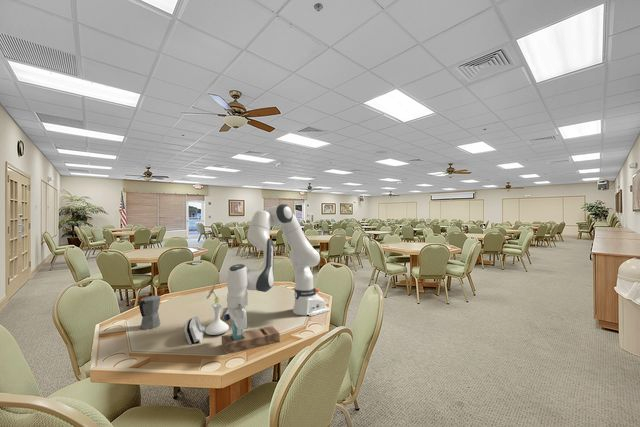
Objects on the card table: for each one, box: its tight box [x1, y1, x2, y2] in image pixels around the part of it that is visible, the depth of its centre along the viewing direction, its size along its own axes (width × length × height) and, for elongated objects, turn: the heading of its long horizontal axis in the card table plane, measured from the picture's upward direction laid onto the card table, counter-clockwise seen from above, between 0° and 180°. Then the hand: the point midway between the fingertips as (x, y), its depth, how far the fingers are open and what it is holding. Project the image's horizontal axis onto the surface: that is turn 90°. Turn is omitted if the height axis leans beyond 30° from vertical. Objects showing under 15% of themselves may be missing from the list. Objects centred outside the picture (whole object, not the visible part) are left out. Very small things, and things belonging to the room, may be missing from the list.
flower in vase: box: [205, 284, 230, 336], centre depth 139 cm, size 13×11×25 cm
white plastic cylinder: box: [223, 308, 231, 321], centre depth 169 cm, size 5×7×25 cm
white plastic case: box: [183, 316, 207, 345], centre depth 134 cm, size 17×5×10 cm, turn 14°
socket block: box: [221, 325, 281, 355], centre depth 127 cm, size 24×10×4 cm, turn 119°
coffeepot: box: [138, 292, 161, 330], centre depth 147 cm, size 15×9×18 cm, turn 179°
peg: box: [231, 319, 243, 341], centre depth 124 cm, size 4×4×10 cm
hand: (237, 332), depth 124 cm, fingers closed on peg, 3 cm apart
